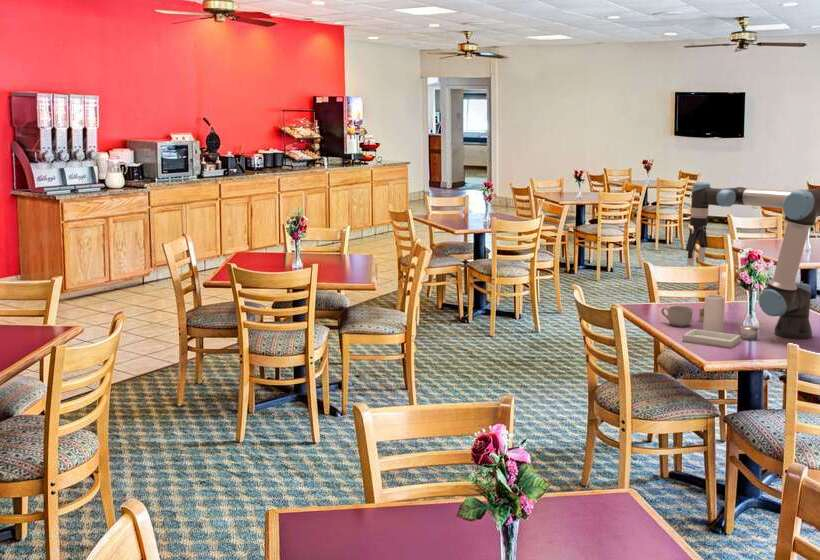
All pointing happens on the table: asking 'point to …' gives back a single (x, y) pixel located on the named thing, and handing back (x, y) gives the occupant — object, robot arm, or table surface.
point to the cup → (713, 313)
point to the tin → (748, 332)
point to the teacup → (678, 315)
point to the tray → (711, 338)
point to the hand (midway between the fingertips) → (695, 263)
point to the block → (701, 314)
